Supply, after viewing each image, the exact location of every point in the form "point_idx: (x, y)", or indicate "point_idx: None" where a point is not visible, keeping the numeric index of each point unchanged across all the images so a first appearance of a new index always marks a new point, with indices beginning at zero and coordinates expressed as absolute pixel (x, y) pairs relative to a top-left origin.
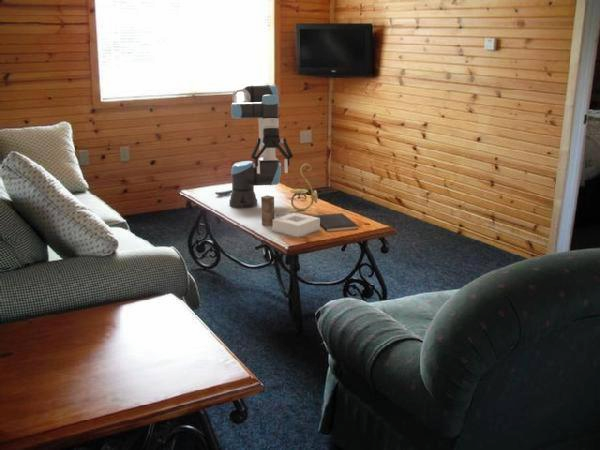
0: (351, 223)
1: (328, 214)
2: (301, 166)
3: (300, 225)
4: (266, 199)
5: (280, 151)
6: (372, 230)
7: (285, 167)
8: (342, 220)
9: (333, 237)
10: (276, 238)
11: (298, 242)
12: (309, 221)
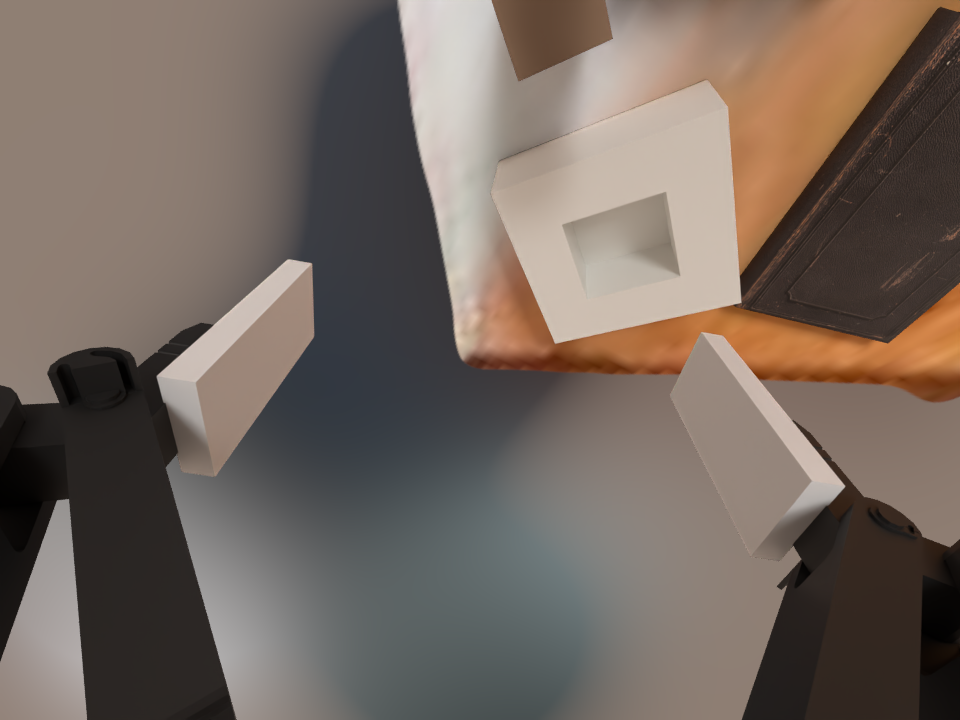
0: (904, 309)
1: None
2: None
3: (569, 338)
4: (512, 53)
5: (783, 691)
6: (894, 374)
7: (709, 418)
8: (941, 243)
9: (680, 361)
10: (468, 262)
11: (524, 341)
12: (645, 321)
